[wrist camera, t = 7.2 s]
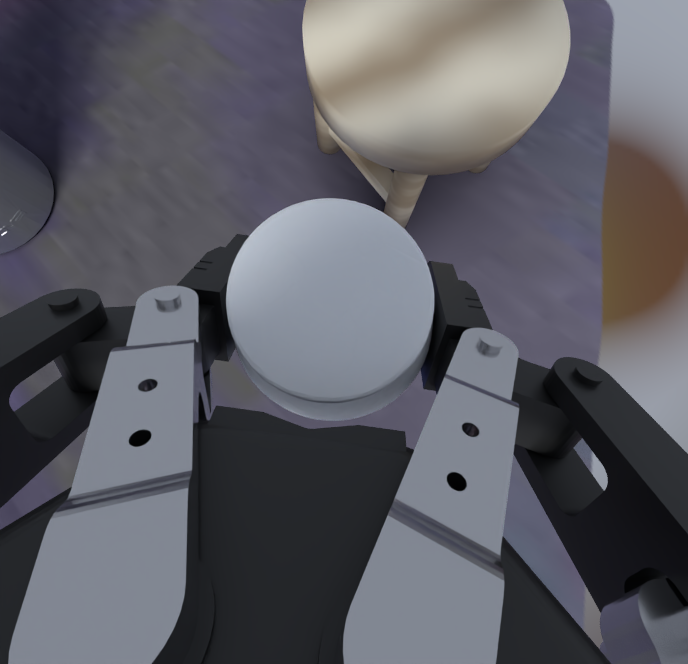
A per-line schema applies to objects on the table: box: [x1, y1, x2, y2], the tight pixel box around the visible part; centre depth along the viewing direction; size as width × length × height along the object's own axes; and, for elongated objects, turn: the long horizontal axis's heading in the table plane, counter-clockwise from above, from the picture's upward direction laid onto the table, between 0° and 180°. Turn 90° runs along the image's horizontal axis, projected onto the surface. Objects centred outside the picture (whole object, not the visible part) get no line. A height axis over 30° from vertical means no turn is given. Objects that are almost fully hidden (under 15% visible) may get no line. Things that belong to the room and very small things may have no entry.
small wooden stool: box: [302, 0, 570, 229], centre depth 23 cm, size 14×14×10 cm
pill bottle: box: [226, 198, 434, 421], centre depth 11 cm, size 5×5×10 cm
